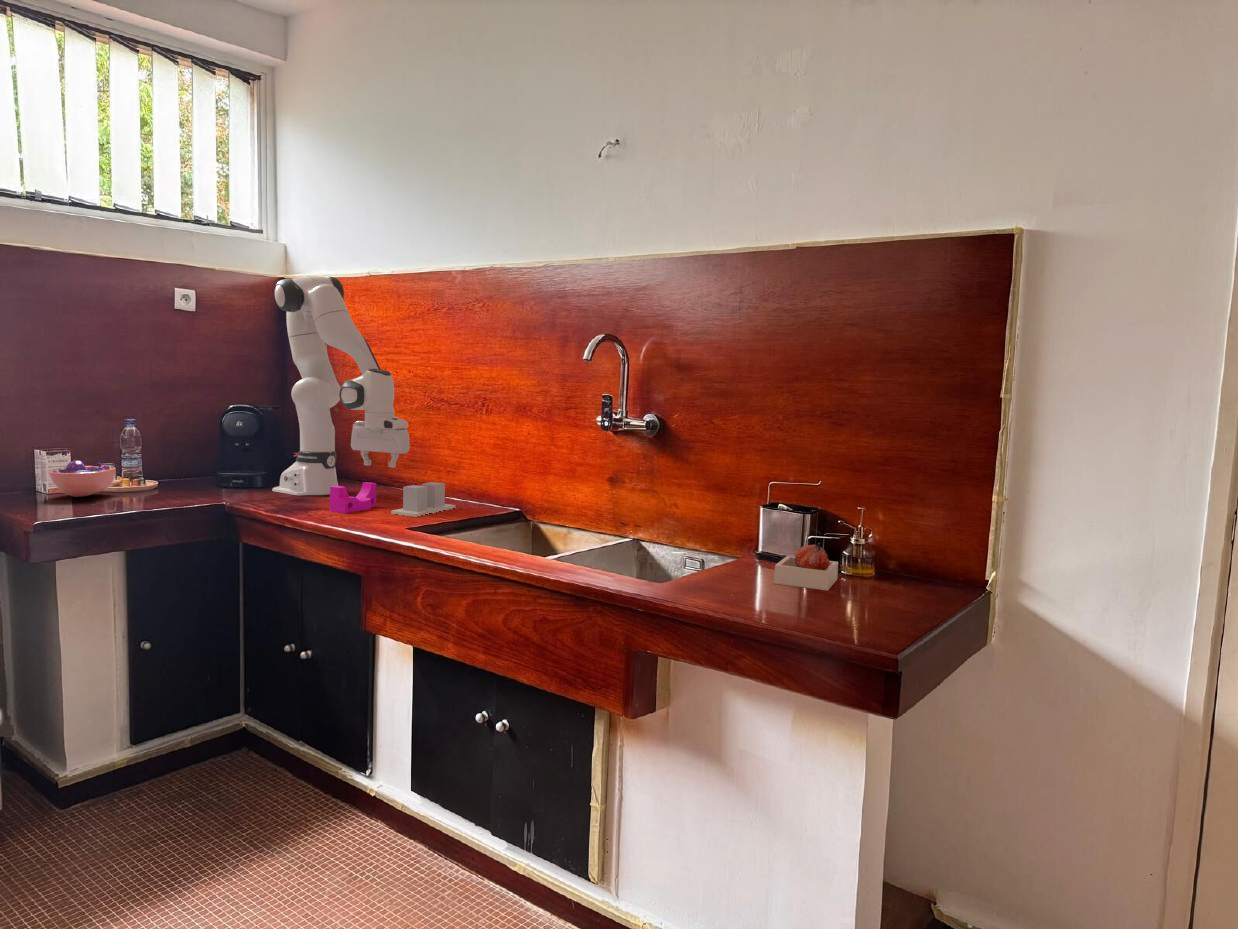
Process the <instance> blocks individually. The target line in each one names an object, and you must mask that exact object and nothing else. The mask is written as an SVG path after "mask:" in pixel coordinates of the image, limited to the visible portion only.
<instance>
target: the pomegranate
mask: <svg viewBox="0 0 1238 929" xmlns="http://www.w3.org/2000/svg"><path fill="white" fill-rule="evenodd" d="M794 557H795V564H796V566H798V567H801V568H809V569H817V570H826V569H827V568H828V567H829V561H830V560H829V557H828V553H827V552H826V550H825V549H824V548H822V547H821V543H820V542H818V543H817V544H808V545H807V544H806V545H803V546H801V547H800V548H799V549H798V550H797V551H796V553H795V555H794Z"/></svg>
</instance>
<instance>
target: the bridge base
mask: <svg viewBox="0 0 1238 929" xmlns="http://www.w3.org/2000/svg"><path fill="white" fill-rule="evenodd" d="M402 487H403V489H402V490H403V491H402V494H403V495H402V496H403V497H402V504H403V505H402V508H398V509H393V510H390V511H391V512H390V513H391V514H390V515H395V514H398V515H397V516H403V515H404V516H405V517H413V518H419V517H422V516H421V515H423V516H426V515H425V514H428V515H430V514H429V513H432V514H436V512H437V513H440V512H439V511H441V512H444V511H443V510H446V511H449V510H454V509H453V508H455V509H456V505H457V504H449V503H445V500H446V499H445V498H446V497H445V496H446V495H445V494H446V493H445V492H446V483H444V482H434V481H430V482H425V483H421V485H417V484H416V485H415V484H412V485H407V486H402ZM418 516H419V517H418Z"/></svg>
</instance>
